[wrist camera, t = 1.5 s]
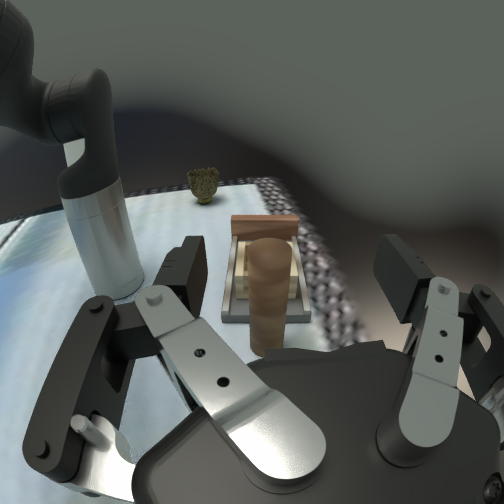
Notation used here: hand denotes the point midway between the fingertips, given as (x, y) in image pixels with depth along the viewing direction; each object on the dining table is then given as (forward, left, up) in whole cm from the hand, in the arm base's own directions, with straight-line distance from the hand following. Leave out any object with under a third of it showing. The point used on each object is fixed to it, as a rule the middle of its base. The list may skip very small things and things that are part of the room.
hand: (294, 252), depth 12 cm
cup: (-45, +31, -21) cm, 58 cm away
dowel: (-7, +8, -21) cm, 24 cm away
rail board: (-16, +18, -21) cm, 32 cm away
